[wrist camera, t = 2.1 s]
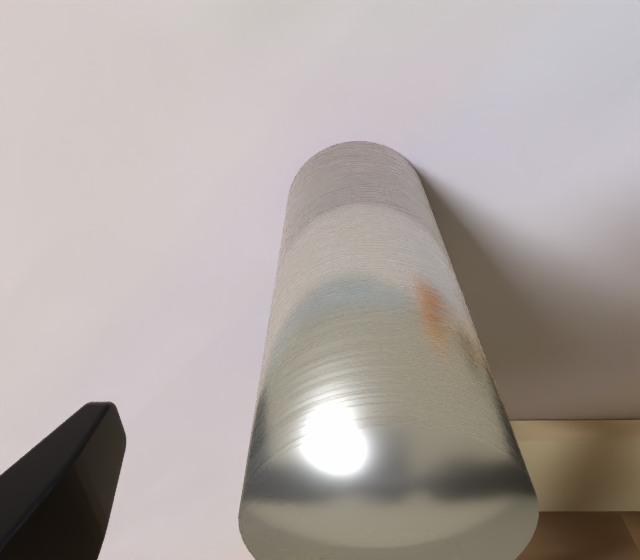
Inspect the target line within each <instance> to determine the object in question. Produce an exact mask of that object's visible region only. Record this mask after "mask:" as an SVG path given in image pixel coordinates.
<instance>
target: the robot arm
mask: <svg viewBox="0 0 640 560" xmlns="http://www.w3.org/2000/svg"><path fill="white" fill-rule="evenodd" d="M125 449H126V435H125V431H124V428H123V425H122V422H121V419H120V416H119V413H118V410H117V408H116V406H115V404H114V403H112V402H89V403H87V404H85V405H84V406H83V407H81V408H80V409H79V410H78V411H77V412H75V413H74V414H73V415H72V416H71V417H70V418H68V419H67V420H66V421H65V422H64V423H62V424H61V425H60V426H59V427H58V428H56V429H55V430H54V431H53V432H52V433H50V434H49V435H48V436H47V437H46V438H44V439H43V440H42V441H41V442H40V443H38V444H37V445H36V446H35V447H34V448H32V449H31V450H30V451H29V452H28V453H26V454H25V455H24V456H23V457H22V458H20V459H19V460H18V461H17V462H16V463H14V464H13V465H12V466H11V467H10V468H9V469H7V470H6V471H5V472H4V473H3V474H1V475H0V560H97V559H98V556H99V553H100V550H101V547H102V544H103V541H104V538H105V534H106V530H107V526H108V522H109V518H110V514H111V509H112V505H113V501H114V496H115V492H116V488H117V483H118V479H119V475H120V470H121V466H122V462H123V458H124V453H125Z"/></svg>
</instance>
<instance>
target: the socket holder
mask: <svg viewBox="0 0 640 560" xmlns="http://www.w3.org/2000/svg"><path fill="white" fill-rule="evenodd" d="M510 424H511V427H512V429H513V432H514V435H515V438H516V440H517V443H518V446H519V448H520V451H521V454H522V457H523V459H524V462H525V465H526V467H527V470H528V473H529V476H530V478H531V481H532V484H533V486H534V489H535V492H536V496H537V500H538V504H539V518H538V522H537V527H536V530H535V532H534V534H533V536H532V539H531V540H530V542H529V543H528V545H527V546H526V548H525V549H524V550H523V551H522V552H521V553H520V555H519V556H518V557H517V558H516V559H515V560H640V420H536V421H510Z"/></svg>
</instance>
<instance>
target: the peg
mask: <svg viewBox="0 0 640 560" xmlns="http://www.w3.org/2000/svg"><path fill="white" fill-rule="evenodd" d="M538 518H539V504H538V500H537V496H536V492H535V489H534V486H533V484H532V481H531V478H530V476H529V473H528V470H527V467H526V465H525V462H524V459H523V457H522V454H521V451H520V448H519V446H518V443H517V440H516V438H515V435H514V432H513V429H512V427H511V424H510V421H509V419H508V416H507V413H506V410H505V408H504V405H503V402H502V400H501V397H500V394H499V391H498V389H497V386H496V383H495V381H494V378H493V375H492V372H491V370H490V367H489V364H488V362H487V359H486V356H485V353H484V351H483V348H482V345H481V343H480V340H479V337H478V334H477V332H476V329H475V326H474V324H473V321H472V318H471V315H470V313H469V310H468V307H467V305H466V302H465V299H464V296H463V294H462V291H461V288H460V286H459V283H458V280H457V277H456V275H455V272H454V269H453V267H452V264H451V261H450V258H449V256H448V253H447V250H446V248H445V245H444V242H443V239H442V237H441V234H440V231H439V229H438V226H437V223H436V220H435V218H434V215H433V212H432V210H431V207H430V204H429V201H428V199H427V196H426V193H425V191H424V188H423V185H422V182H421V180H420V178H419V176H418V174H417V172H416V171H415V169H414V168H413V166H412V165H411V164H410V163H409V162H408V161H407V160H406V159H405V158H404V157H403V156H402V155H400V154H399V153H397V152H396V151H394V150H392V149H390V148H388V147H386V146H383V145H380V144H377V143H372V142H366V141H352V142H344V143H340V144H336V145H333V146H331V147H328V148H326V149H324V150H322V151H320V152H319V153H317V154H316V155H314V156H313V157H312V158H311V159H309V160H308V161H307V162H306V163H305V164H304V165H303V167H302V168H301V169H300V170H299V172H298V173H297V175H296V176H295V178H294V181H293V183H292V185H291V188H290V192H289V197H288V203H287V209H286V216H285V222H284V228H283V235H282V241H281V248H280V254H279V260H278V267H277V273H276V279H275V286H274V292H273V299H272V305H271V311H270V318H269V324H268V330H267V337H266V343H265V349H264V356H263V362H262V369H261V375H260V381H259V388H258V394H257V400H256V407H255V413H254V420H253V426H252V432H251V439H250V445H249V451H248V458H247V464H246V471H245V477H244V483H243V490H242V496H241V502H240V509H239V516H238V519H239V529H240V533H241V536H242V539H243V541H244V543H245V545H246V547H247V549H248V550H249V552H250V553H251V554H252V555H253V557H254V558H255V559H256V560H515V559H516V558H517V557H518V556H519V555H520V553H521V552H522V551H523V550H524V549H525V548H526V546H527V545H528V543H529V542H530V540H531V539H532V536H533V534H534V532H535V530H536V527H537V522H538Z"/></svg>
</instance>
